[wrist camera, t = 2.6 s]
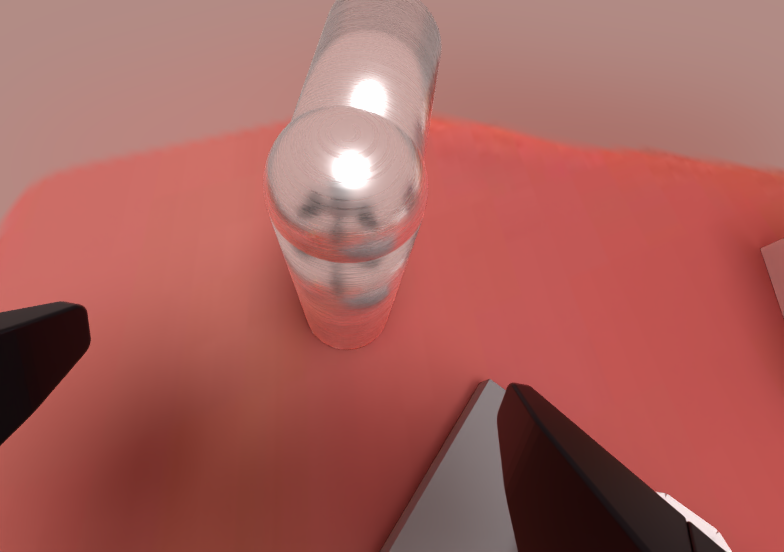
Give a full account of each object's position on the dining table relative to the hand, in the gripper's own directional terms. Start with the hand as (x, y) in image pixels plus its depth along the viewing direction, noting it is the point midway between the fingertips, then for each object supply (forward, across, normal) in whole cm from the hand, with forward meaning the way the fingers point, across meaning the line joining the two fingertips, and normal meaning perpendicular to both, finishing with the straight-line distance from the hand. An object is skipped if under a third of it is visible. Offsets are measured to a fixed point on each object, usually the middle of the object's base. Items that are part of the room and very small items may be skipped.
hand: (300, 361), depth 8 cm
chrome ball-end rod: (+13, 0, +3) cm, 14 cm away
